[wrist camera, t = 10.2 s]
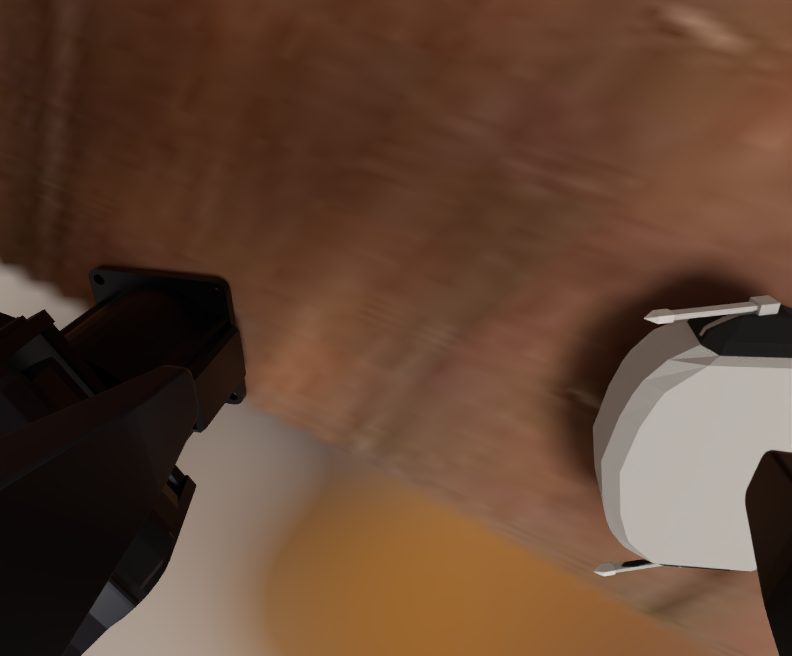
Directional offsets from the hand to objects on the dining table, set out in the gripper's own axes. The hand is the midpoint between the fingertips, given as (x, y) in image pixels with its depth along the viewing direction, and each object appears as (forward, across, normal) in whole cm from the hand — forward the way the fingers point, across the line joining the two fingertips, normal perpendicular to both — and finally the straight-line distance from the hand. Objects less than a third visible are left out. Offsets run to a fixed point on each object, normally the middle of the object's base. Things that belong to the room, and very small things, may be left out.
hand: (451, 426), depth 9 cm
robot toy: (+13, -12, +8) cm, 20 cm away
